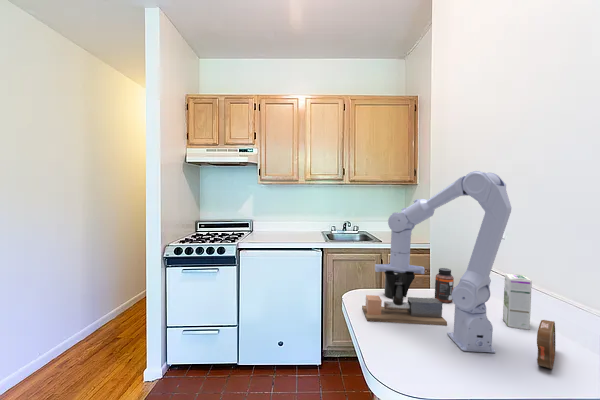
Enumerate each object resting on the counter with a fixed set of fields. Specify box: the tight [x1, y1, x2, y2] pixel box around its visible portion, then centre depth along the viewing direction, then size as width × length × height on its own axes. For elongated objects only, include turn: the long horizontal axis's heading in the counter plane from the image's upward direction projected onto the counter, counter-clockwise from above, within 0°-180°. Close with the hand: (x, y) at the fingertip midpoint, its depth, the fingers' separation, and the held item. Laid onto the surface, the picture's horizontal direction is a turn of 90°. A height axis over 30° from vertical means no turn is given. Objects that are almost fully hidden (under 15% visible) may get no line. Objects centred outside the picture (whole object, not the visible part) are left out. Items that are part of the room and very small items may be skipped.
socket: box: [364, 294, 383, 315], centre depth 100 cm, size 4×4×4 cm
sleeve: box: [407, 296, 443, 318], centre depth 100 cm, size 4×9×4 cm, turn 87°
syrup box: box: [502, 273, 533, 331], centre depth 97 cm, size 6×6×14 cm
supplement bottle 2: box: [434, 267, 455, 304], centre depth 116 cm, size 6×6×11 cm
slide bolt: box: [383, 283, 411, 311], centre depth 100 cm, size 3×13×8 cm, turn 87°
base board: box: [362, 305, 448, 326], centre depth 100 cm, size 10×23×1 cm, turn 87°
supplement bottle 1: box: [384, 262, 405, 300], centre depth 119 cm, size 7×7×12 cm
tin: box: [536, 319, 556, 370], centre depth 77 cm, size 15×3×8 cm, turn 139°
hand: (398, 295), depth 100 cm, fingers closed on slide bolt, 3 cm apart
